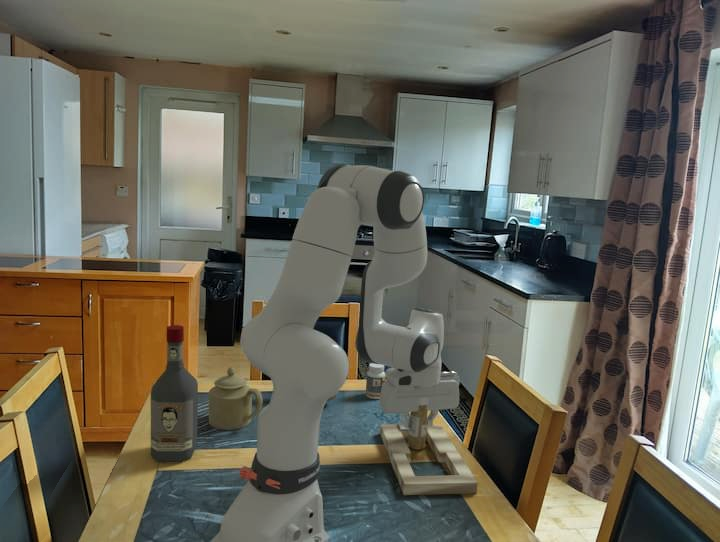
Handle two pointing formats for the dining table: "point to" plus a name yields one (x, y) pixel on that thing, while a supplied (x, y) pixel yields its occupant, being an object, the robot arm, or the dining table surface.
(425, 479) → the keyhole board
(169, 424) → the liquor
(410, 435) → the sprinkles bottle
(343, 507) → the dining table surface
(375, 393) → the pill bottle
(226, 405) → the sugar bowl
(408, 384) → the robot arm
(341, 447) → the dining table surface
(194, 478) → the dining table surface
